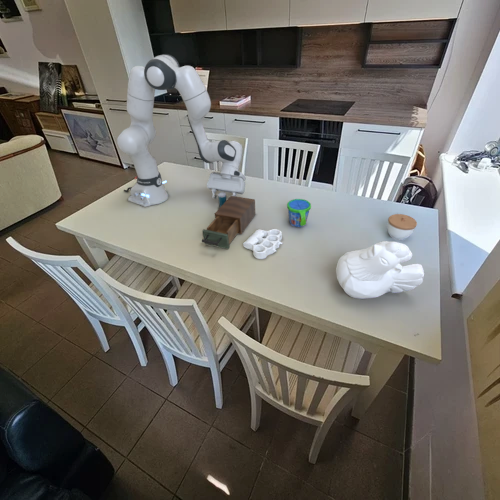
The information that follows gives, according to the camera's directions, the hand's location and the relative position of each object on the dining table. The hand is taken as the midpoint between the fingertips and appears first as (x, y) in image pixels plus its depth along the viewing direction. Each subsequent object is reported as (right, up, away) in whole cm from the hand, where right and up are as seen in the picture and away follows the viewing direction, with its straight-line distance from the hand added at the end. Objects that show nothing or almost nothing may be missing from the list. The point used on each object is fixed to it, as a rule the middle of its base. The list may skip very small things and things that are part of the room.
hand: (222, 199), depth 142 cm
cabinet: (+8, -12, -8) cm, 16 cm away
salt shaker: (0, -4, +3) cm, 5 cm away
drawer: (+2, -21, -19) cm, 28 cm away
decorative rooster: (+56, -41, -46) cm, 83 cm away
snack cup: (+37, -13, -11) cm, 40 cm away
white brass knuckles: (+20, -24, -23) cm, 39 cm away
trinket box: (+78, -20, -21) cm, 83 cm away
